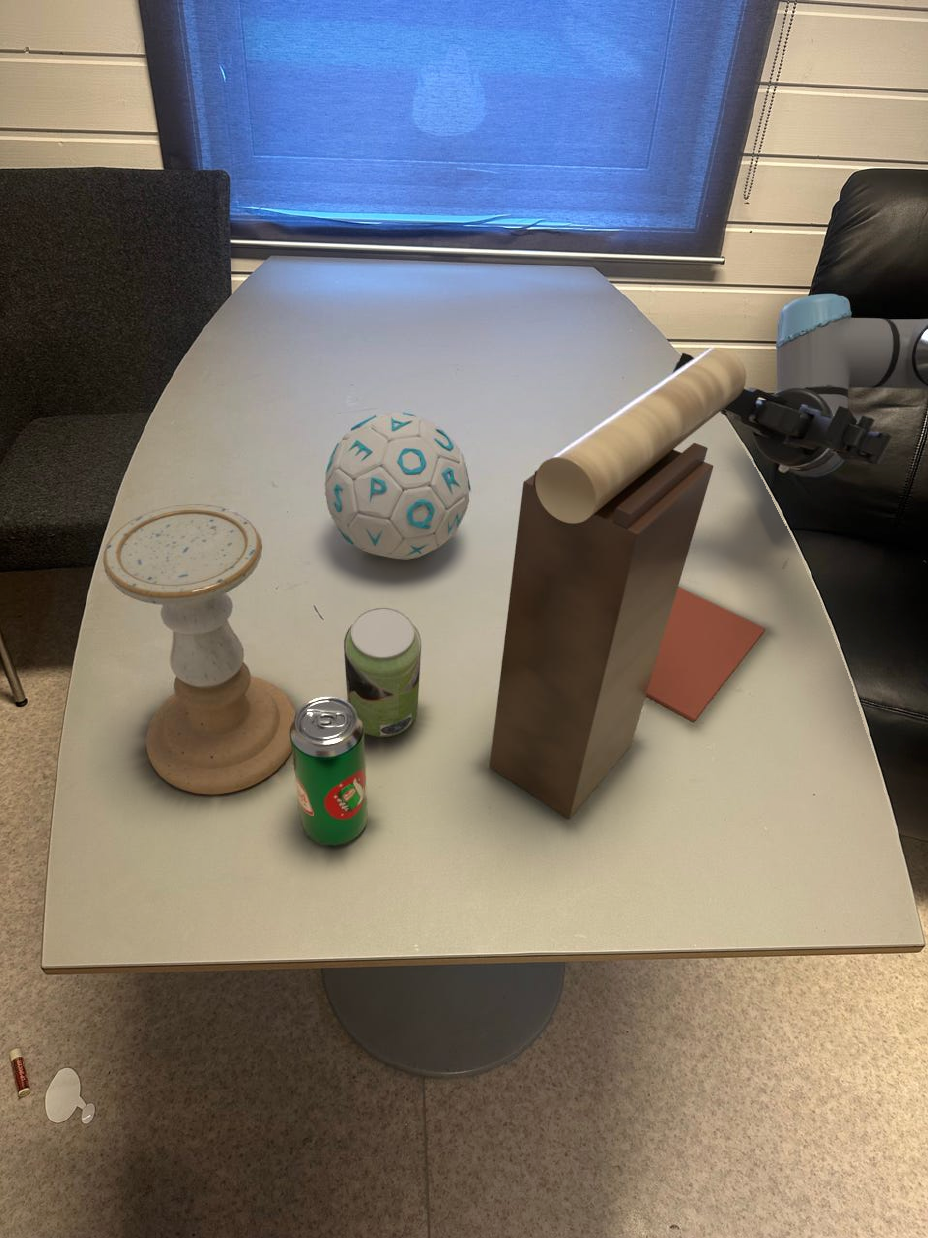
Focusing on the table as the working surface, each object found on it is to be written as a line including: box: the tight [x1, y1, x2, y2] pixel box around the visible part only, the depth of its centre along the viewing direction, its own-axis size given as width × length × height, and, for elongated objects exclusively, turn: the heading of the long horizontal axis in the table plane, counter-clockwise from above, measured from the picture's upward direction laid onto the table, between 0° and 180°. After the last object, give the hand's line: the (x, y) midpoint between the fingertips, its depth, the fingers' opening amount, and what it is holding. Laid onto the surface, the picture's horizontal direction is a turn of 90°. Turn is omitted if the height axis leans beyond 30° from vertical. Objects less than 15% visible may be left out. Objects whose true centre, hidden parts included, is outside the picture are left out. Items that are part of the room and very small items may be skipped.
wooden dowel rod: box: [535, 347, 747, 523], centre depth 52 cm, size 20×4×4 cm, turn 142°
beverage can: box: [343, 606, 422, 738], centre depth 68 cm, size 6×7×12 cm
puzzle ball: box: [324, 412, 472, 561], centre depth 86 cm, size 15×15×15 cm
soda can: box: [290, 696, 369, 846], centre depth 60 cm, size 5×5×12 cm
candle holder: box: [102, 503, 297, 795], centre depth 63 cm, size 12×12×20 cm
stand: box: [489, 442, 714, 820], centre depth 60 cm, size 8×10×29 cm
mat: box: [646, 586, 766, 723], centre depth 81 cm, size 12×16×1 cm
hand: (754, 395), depth 67 cm, fingers open, 13 cm apart
